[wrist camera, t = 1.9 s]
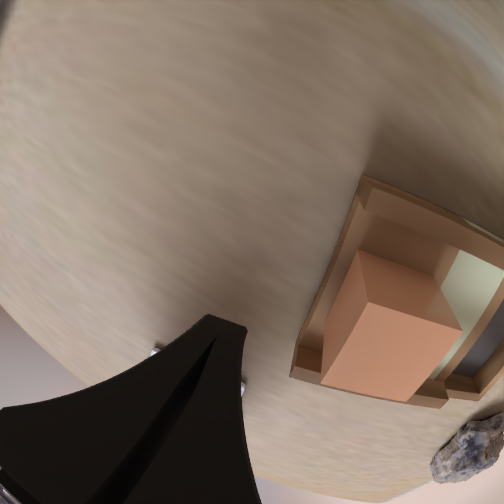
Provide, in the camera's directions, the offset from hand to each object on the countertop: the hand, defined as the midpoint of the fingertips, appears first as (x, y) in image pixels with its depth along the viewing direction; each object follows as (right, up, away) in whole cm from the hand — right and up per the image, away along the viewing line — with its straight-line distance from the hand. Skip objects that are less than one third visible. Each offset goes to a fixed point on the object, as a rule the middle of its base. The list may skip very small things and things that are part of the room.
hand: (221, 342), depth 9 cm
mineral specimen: (+23, -17, +10) cm, 31 cm away
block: (+8, 0, +5) cm, 9 cm away
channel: (+12, 0, +6) cm, 13 cm away
